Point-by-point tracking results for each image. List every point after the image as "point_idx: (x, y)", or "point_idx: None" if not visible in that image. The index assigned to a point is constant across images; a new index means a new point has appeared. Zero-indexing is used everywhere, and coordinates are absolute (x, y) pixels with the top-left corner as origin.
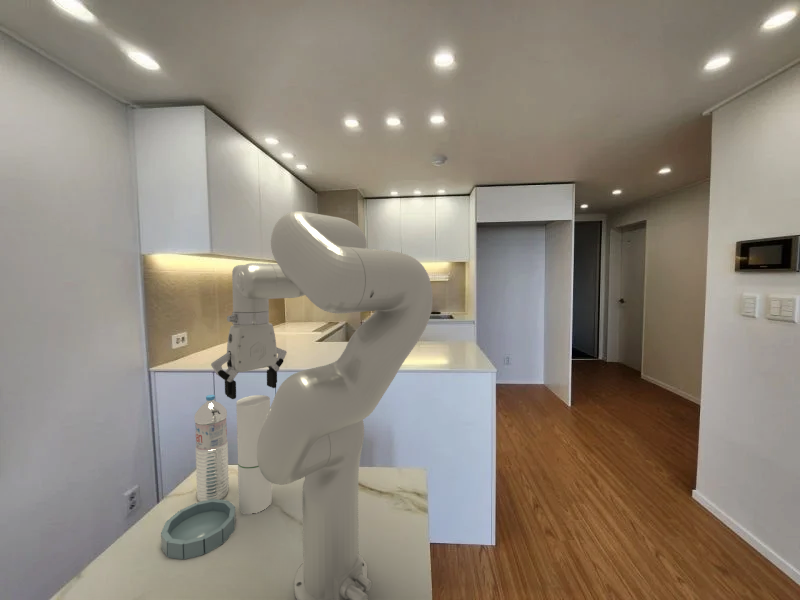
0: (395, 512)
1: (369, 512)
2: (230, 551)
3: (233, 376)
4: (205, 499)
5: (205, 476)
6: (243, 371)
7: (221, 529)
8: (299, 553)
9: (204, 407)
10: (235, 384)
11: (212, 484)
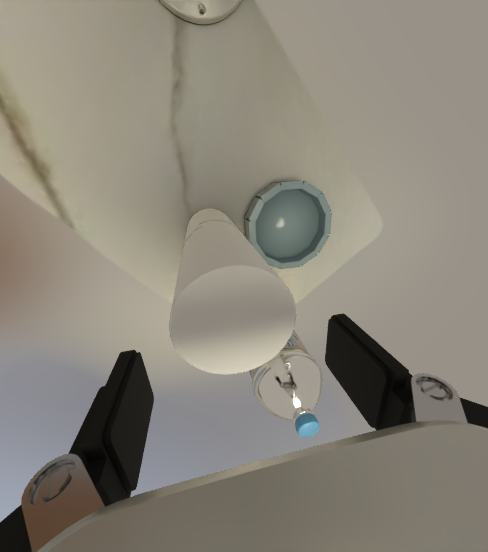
0: None
1: (42, 32)
2: (273, 159)
3: (430, 404)
4: None
5: None
6: (421, 422)
7: (281, 183)
8: (206, 62)
9: (316, 395)
10: (377, 359)
11: None
